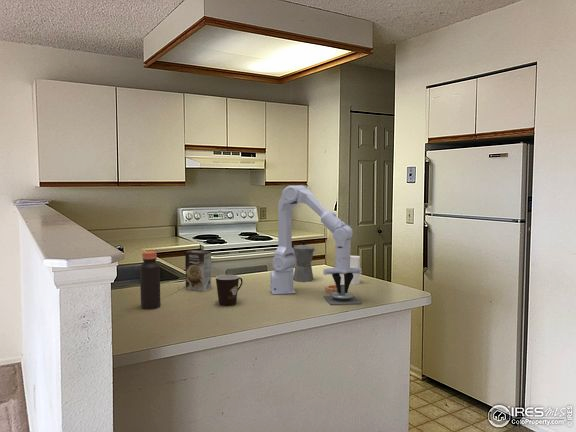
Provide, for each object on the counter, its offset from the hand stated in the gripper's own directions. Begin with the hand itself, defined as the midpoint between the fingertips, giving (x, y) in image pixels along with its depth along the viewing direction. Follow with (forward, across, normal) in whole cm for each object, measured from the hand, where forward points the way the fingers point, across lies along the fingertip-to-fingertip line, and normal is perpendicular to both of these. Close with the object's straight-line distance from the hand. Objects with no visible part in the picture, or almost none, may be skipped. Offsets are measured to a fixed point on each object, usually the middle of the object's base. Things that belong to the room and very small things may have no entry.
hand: (342, 292), depth 175 cm
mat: (+3, 0, 0) cm, 3 cm away
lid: (+1, 0, 0) cm, 1 cm away
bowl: (+3, 0, +11) cm, 11 cm away
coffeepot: (+3, -9, +37) cm, 38 cm away
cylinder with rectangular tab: (+3, +11, +28) cm, 30 cm away
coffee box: (+3, -55, +25) cm, 61 cm away
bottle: (+3, -71, +1) cm, 71 cm away
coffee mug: (+3, -42, +2) cm, 42 cm away
